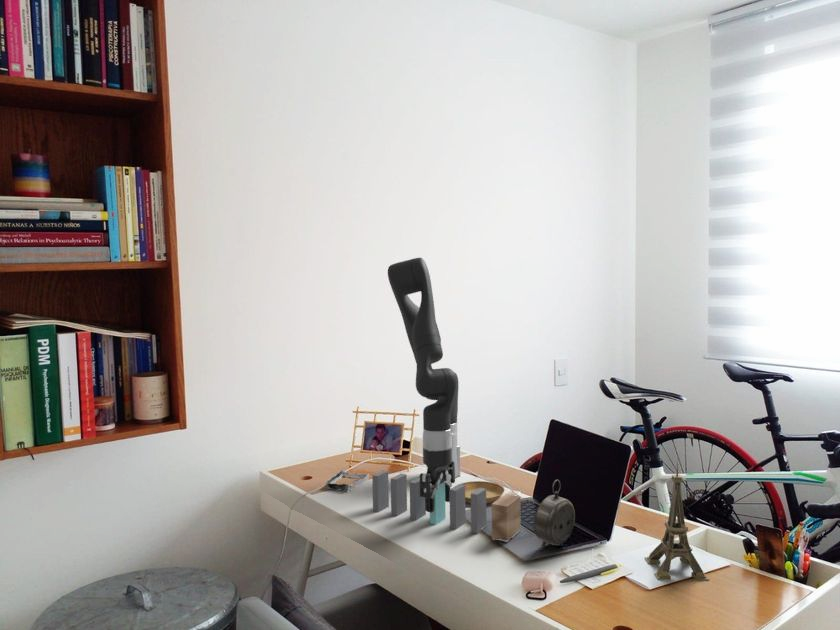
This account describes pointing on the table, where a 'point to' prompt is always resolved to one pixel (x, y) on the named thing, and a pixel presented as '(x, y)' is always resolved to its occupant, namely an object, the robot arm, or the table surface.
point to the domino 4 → (438, 505)
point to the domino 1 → (380, 491)
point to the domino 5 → (457, 506)
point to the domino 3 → (416, 500)
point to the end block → (506, 517)
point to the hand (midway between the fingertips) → (438, 506)
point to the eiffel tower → (675, 546)
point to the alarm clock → (554, 519)
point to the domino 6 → (478, 510)
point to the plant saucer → (492, 489)
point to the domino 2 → (398, 494)
